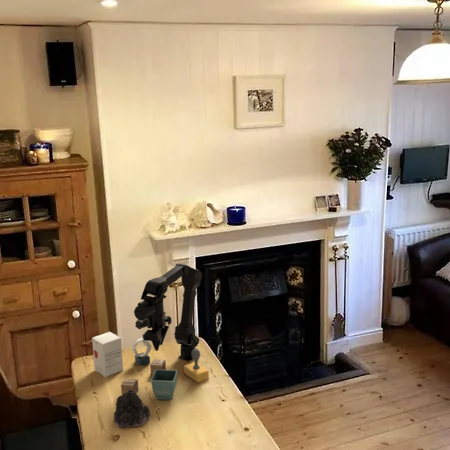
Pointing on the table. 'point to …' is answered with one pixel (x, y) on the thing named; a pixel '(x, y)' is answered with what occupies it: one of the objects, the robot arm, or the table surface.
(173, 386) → the flower pot
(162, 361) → the numbered block seven
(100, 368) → the supplement box
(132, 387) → the numbered block one
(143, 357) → the watch
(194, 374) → the rubber stamp
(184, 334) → the robot arm
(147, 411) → the crystal cluster
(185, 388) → the table surface
